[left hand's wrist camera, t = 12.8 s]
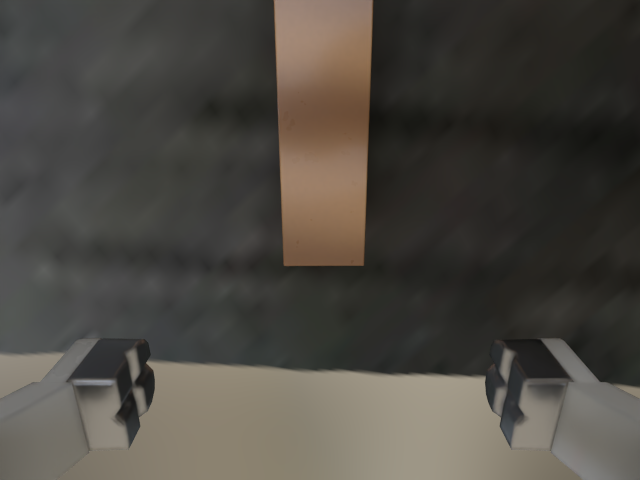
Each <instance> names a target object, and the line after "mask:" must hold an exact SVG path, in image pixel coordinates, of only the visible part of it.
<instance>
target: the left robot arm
mask: <svg viewBox="0 0 640 480" xmlns="http://www.w3.org/2000/svg"><path fill="white" fill-rule="evenodd" d="M150 355H151V354H150V349H149V345H148V342H147V341H146V340H145V339H106V338H103V339H101V338H82V339H79V340H77V341H76V342H75V343H74V344H73V345H72V346H71V347H70V348H69V350H68V351H67V352H66V353H65V354H64V355H63V356H62V358H61V359H60V360H59V361H58V362H57V363H56V364H55V366H54V367H53V368H52V369H51V370H50V371H49V372H48V374H47V375H46V376H45V377H44V378H43V379H42V381H41V382H33V383H31V384H29V385H27V386H25V387H23V388H21V389H19V390H17V391H15V392H13V393H11V394H9V395H7V396H5V397H3V398H1V399H0V480H57V479H59V478H60V477H61V476H62V475H63V474H64V473H66V472H67V471H68V470H69V469H70V468H72V467H73V466H74V465H75V464H76V463H78V462H79V461H80V460H81V459H82V458H84V457H85V456H86V455H87V454H88V453H89V451H96V450H128V449H129V448H130V446H131V444H132V442H133V440H134V438H135V436H136V434H137V432H138V430H139V428H140V422H139V417H140V416H142V415H143V414H144V413H146V412H147V411H148V409H149V407H150V405H151V403H152V399H153V394H154V389H155V379H154V372H153V370H152V369H151V368H150V367H149V366H148V365H147V364H146V362H147V360H148V358H149V357H150ZM489 355H490V357H491V358H492V360H493V362H494V364H493V365H492V366H491V367H490V368H489V369H488V370H487V372H486V380H485V386H486V395H487V399H488V402H489V405H490V407H491V409H492V411H493V412H494V413H496V414H497V415H498V416H500V417H501V422H500V428H501V430H502V432H503V434H504V436H505V438H506V440H507V442H508V444H509V446H510V448H511V449H512V450H544V451H551V453H552V454H553V455H554V456H555V457H557V458H558V459H559V460H560V461H561V462H563V463H564V464H565V465H566V466H567V467H569V468H570V469H571V470H572V471H573V472H574V473H576V474H577V475H578V476H579V477H580V478H582V479H583V480H640V399H639V398H637V397H635V396H633V395H631V394H629V393H627V392H625V391H623V390H621V389H619V388H617V387H615V386H613V385H611V384H609V383H607V382H599V381H598V379H597V378H596V377H595V376H594V375H593V374H592V373H591V371H590V370H589V369H588V368H587V367H586V366H585V364H584V363H583V362H582V361H581V360H580V359H579V358H578V356H577V355H576V354H575V353H574V352H573V351H572V350H571V348H570V347H569V346H568V345H567V344H566V343H565V342H564V341H563V340H561V339H559V338H545V339H517V340H494V341H493V343H492V345H491V349H490V354H489Z"/></svg>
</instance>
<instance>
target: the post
mask: <svg viewBox="0 0 640 480" xmlns="http://www.w3.org/2000/svg"><path fill="white" fill-rule="evenodd" d="M274 20H275V47H276V73H277V100H278V126H279V153H280V179H281V206H282V232H283V258H284V266H363V265H364V250H365V222H366V194H367V166H368V138H369V110H370V82H371V54H372V26H373V0H274Z"/></svg>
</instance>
